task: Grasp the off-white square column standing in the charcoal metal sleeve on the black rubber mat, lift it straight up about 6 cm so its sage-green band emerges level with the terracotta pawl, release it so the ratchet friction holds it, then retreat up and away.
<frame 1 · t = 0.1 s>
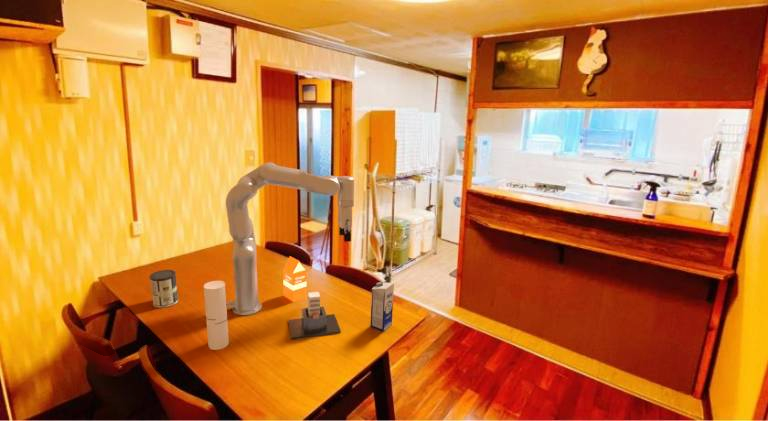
hand: (345, 238, 179), 31 cm above the table, fingers open, 9 cm apart
column: (314, 310, 158), point 8 cm above the table, slide at 0.0 cm
stand base: (314, 327, 160), on the table
milk carton: (381, 326, 163), on the table
orange juice: (295, 296, 186), on the table
cylindrical container: (218, 344, 146), on the table
coffee can: (165, 302, 175), on the table
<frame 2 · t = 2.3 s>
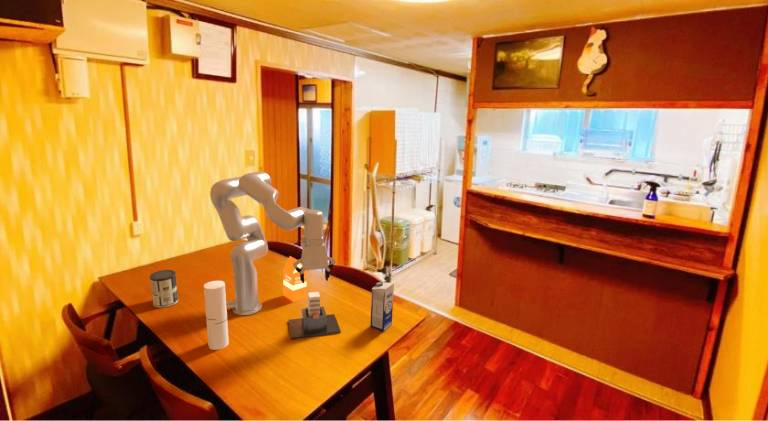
hand: (314, 280, 155), 21 cm above the table, fingers open, 9 cm apart
nothing on the table moved.
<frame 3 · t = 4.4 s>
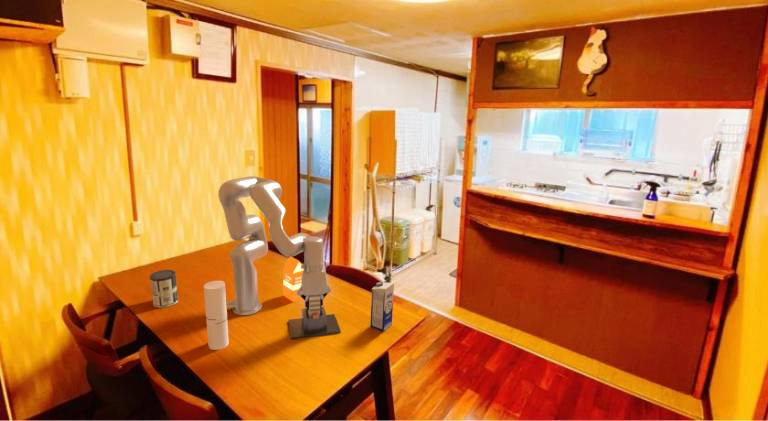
hand: (314, 307, 158), 9 cm above the table, fingers closed on column, 4 cm apart
column: (314, 310, 158), point 8 cm above the table, slide at 0.0 cm, touching gripper
everything else where it was.
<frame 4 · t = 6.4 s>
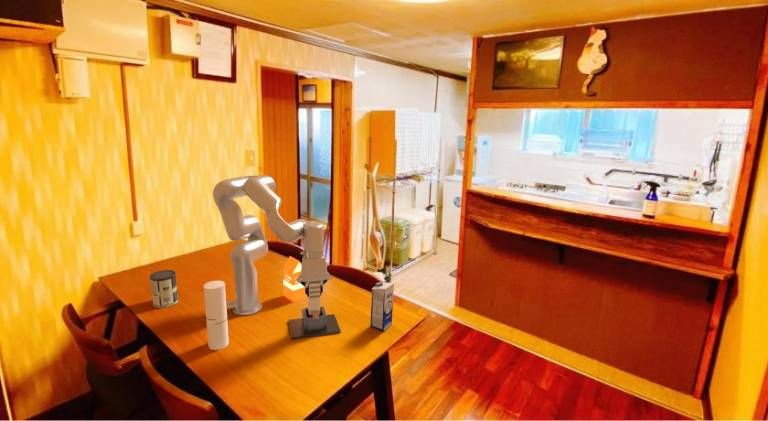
hand: (313, 294, 156), 15 cm above the table, fingers closed on column, 4 cm apart
column: (314, 297, 156), point 14 cm above the table, slide at 5.9 cm, touching gripper
everything else where it was.
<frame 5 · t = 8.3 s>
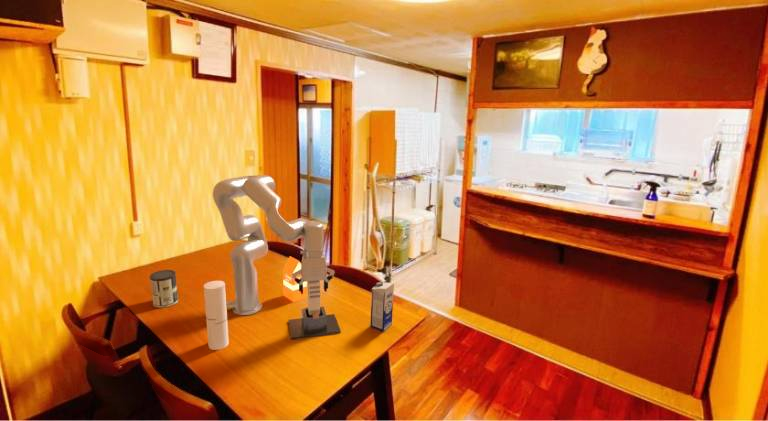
hand: (313, 291, 156), 17 cm above the table, fingers open, 9 cm apart
column: (314, 297, 156), point 14 cm above the table, slide at 6.0 cm
everything else where it was.
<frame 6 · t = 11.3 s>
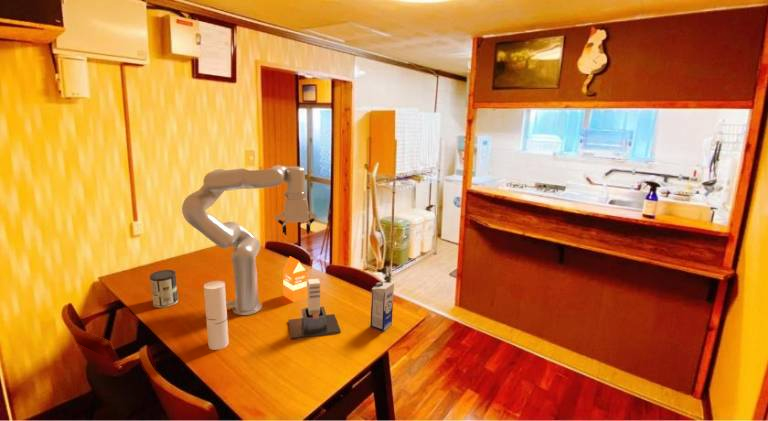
hand: (296, 233, 166), 36 cm above the table, fingers open, 9 cm apart
nothing on the table moved.
at the end: column slide at 6.0 cm; the gripper is holding nothing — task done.
